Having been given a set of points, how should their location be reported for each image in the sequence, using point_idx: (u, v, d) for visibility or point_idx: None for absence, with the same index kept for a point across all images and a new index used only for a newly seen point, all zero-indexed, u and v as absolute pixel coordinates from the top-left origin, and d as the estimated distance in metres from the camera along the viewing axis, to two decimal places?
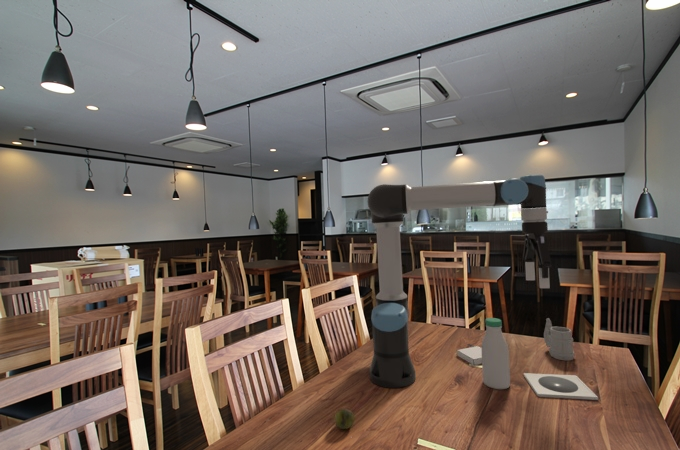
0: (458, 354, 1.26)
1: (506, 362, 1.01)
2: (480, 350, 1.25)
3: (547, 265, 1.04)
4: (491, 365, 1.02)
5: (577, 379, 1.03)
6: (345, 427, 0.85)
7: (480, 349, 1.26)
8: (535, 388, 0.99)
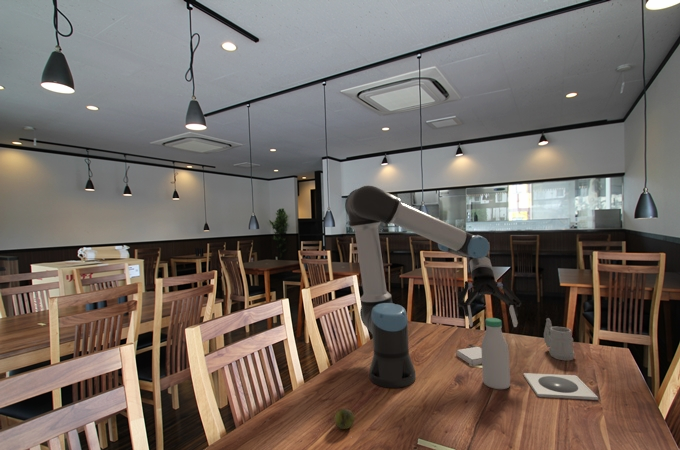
0: (458, 354, 1.26)
1: (506, 362, 1.01)
2: (480, 350, 1.25)
3: (520, 304, 1.14)
4: (491, 365, 1.02)
5: (577, 379, 1.03)
6: (345, 427, 0.85)
7: (480, 350, 1.26)
8: (535, 388, 0.99)
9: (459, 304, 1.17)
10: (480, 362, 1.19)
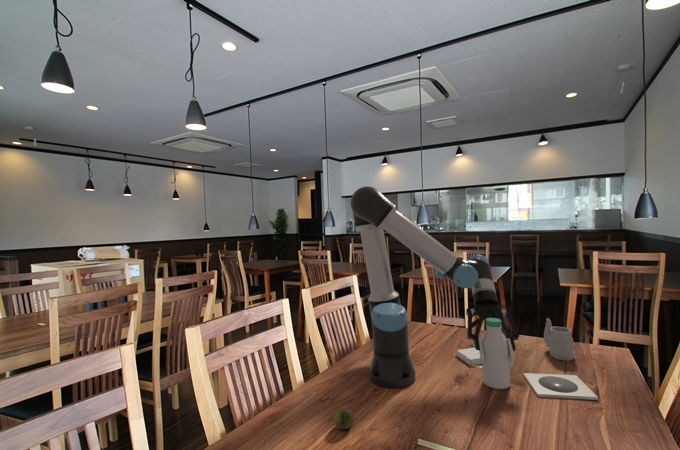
0: (457, 354, 1.26)
1: (506, 362, 1.01)
2: None
3: (518, 337, 1.05)
4: (491, 365, 1.02)
5: (577, 379, 1.03)
6: (345, 427, 0.85)
7: None
8: (535, 388, 0.99)
9: (470, 336, 1.07)
10: (479, 362, 1.19)
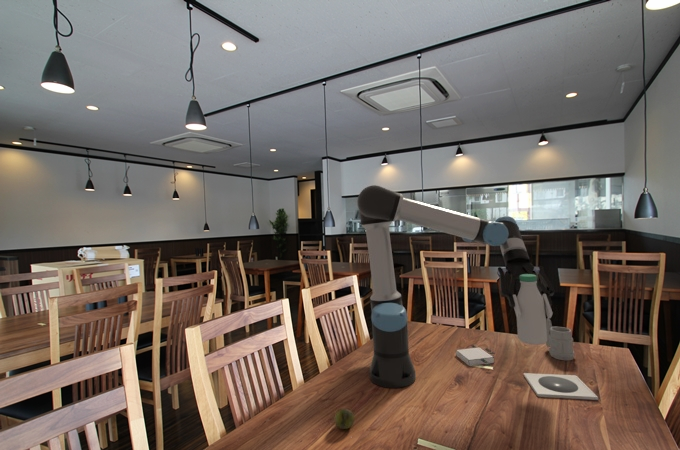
0: (457, 354, 1.26)
1: (543, 317, 0.99)
2: (480, 351, 1.24)
3: (553, 293, 1.02)
4: (527, 320, 0.99)
5: (577, 379, 1.03)
6: (345, 427, 0.85)
7: (480, 350, 1.25)
8: (535, 388, 0.99)
9: (503, 294, 1.05)
10: (478, 363, 1.18)
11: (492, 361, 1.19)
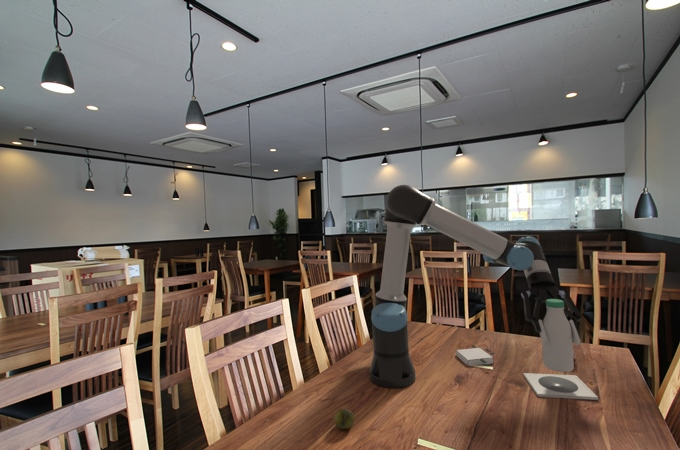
0: (457, 354, 1.26)
1: (570, 344, 0.97)
2: (479, 352, 1.24)
3: (580, 319, 1.01)
4: (554, 347, 0.98)
5: (577, 379, 1.03)
6: (345, 427, 0.85)
7: (480, 351, 1.25)
8: (535, 388, 0.99)
9: (528, 318, 1.03)
10: (477, 363, 1.18)
11: (491, 361, 1.19)
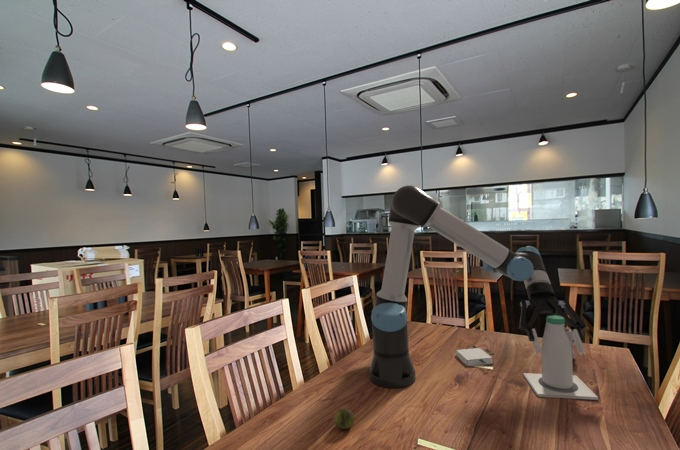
0: (457, 354, 1.26)
1: (570, 361, 0.97)
2: (479, 352, 1.24)
3: (584, 328, 1.01)
4: (554, 364, 0.98)
5: (577, 379, 1.03)
6: (345, 427, 0.85)
7: (480, 351, 1.25)
8: (535, 388, 0.99)
9: (522, 327, 1.04)
10: (476, 363, 1.18)
11: (491, 362, 1.19)
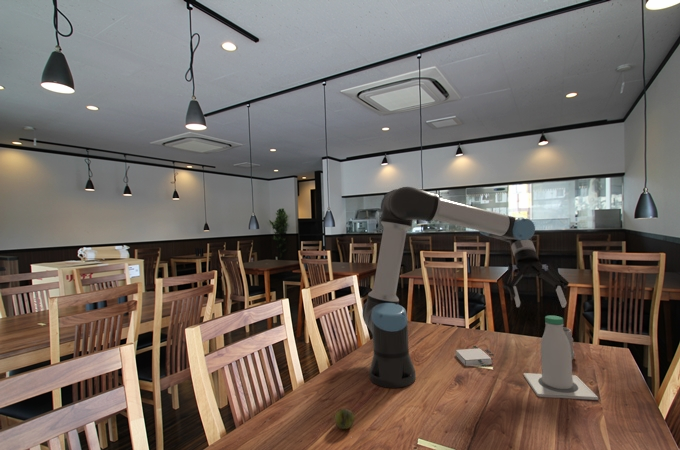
0: (456, 354, 1.26)
1: (569, 361, 0.97)
2: (479, 352, 1.23)
3: (567, 285, 1.14)
4: (553, 364, 0.98)
5: (577, 379, 1.03)
6: (345, 427, 0.85)
7: (480, 351, 1.24)
8: (535, 388, 0.99)
9: (504, 285, 1.18)
10: (474, 363, 1.18)
11: (490, 362, 1.18)
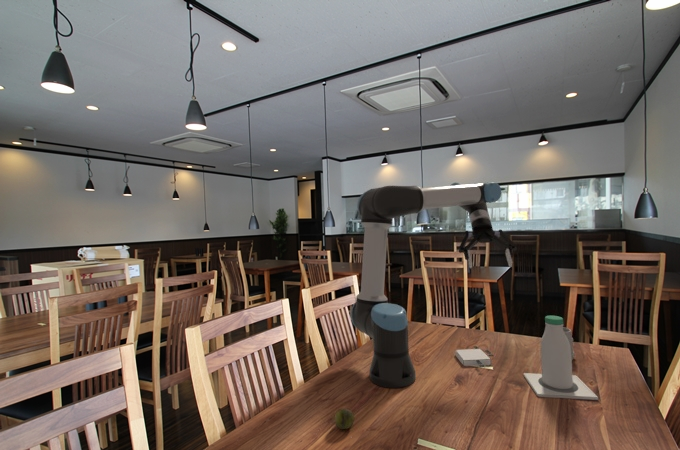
0: (456, 354, 1.26)
1: (569, 361, 0.97)
2: (479, 353, 1.23)
3: (515, 248, 1.26)
4: (553, 364, 0.98)
5: (577, 379, 1.03)
6: (345, 427, 0.85)
7: (480, 352, 1.24)
8: (535, 388, 0.99)
9: (460, 249, 1.30)
10: (473, 364, 1.18)
11: (489, 363, 1.18)
